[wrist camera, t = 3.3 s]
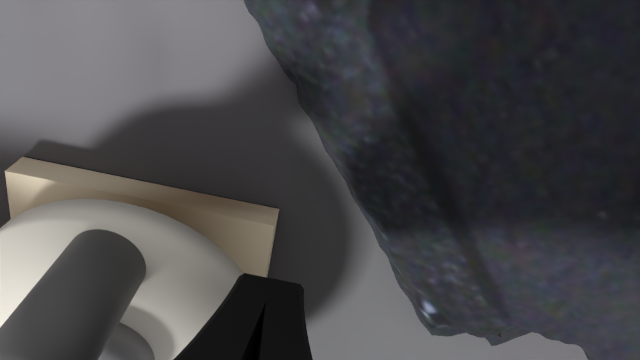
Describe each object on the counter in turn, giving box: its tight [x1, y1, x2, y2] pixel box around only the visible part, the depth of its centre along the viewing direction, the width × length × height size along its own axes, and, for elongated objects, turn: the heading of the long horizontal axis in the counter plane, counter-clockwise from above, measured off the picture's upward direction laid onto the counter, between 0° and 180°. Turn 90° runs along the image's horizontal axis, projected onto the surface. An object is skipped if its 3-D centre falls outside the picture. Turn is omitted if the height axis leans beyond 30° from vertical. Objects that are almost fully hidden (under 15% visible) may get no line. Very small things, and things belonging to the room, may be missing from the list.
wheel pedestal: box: [5, 157, 279, 277], centre depth 16 cm, size 7×7×2 cm
